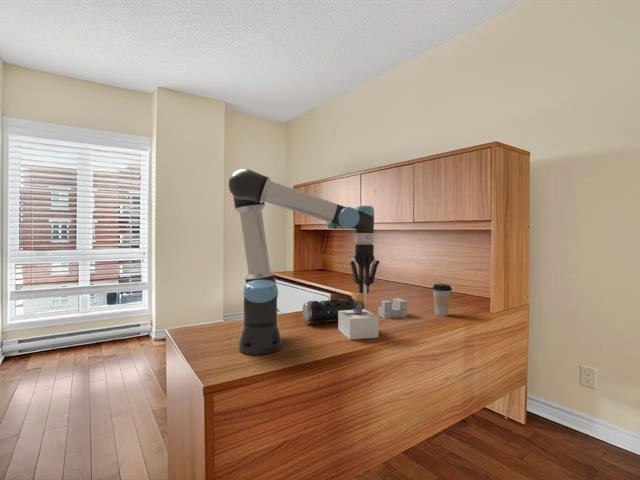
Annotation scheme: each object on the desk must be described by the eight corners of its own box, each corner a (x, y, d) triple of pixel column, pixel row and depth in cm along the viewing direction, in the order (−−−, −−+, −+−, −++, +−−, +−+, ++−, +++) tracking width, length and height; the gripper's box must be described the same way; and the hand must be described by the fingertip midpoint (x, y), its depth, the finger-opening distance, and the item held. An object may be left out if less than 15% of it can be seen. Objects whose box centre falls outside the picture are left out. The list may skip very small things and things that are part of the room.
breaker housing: (349, 339, 126) (350, 318, 126) (338, 329, 139) (338, 310, 139) (378, 337, 129) (378, 316, 129) (364, 327, 142) (364, 308, 142)
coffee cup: (433, 311, 172) (433, 283, 172) (452, 313, 168) (452, 284, 167) (430, 315, 163) (431, 285, 163) (451, 317, 159) (451, 287, 159)
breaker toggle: (356, 314, 131) (356, 295, 131) (351, 311, 136) (351, 293, 136) (364, 313, 132) (364, 295, 131) (358, 310, 137) (358, 292, 137)
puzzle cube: (396, 311, 173) (396, 296, 173) (407, 317, 161) (407, 301, 161) (375, 312, 170) (375, 297, 170) (384, 318, 158) (384, 302, 158)
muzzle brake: (364, 321, 153) (364, 299, 153) (309, 327, 142) (309, 304, 142) (354, 316, 162) (354, 295, 162) (301, 322, 151) (301, 299, 151)
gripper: (352, 243, 129) (352, 303, 129) (383, 244, 132) (382, 302, 133) (346, 243, 136) (345, 299, 136) (375, 243, 139) (374, 298, 140)
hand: (363, 300), depth 135 cm, fingers closed
